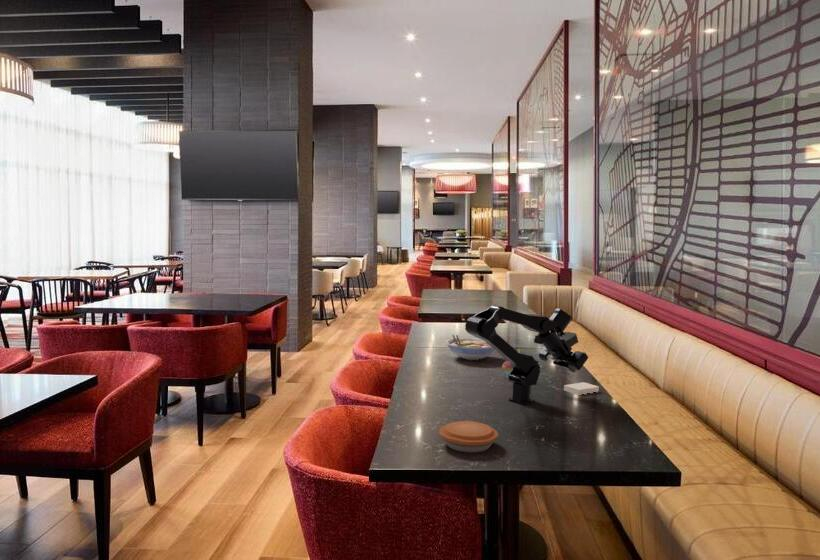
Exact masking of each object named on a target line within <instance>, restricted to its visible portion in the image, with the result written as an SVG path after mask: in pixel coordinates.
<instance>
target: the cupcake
mask: <svg viewBox="0 0 820 560" xmlns="http://www.w3.org/2000/svg"><path fill="white" fill-rule="evenodd" d="M520 348H521V347H519V348H518V349H517V352H518V353H519V352H521V350H520ZM501 367H502V369H503V370H504V372H505V375H506V378H507V379H508V380H509V378H508V374H509V373H510V371H511V370H512V366H511V363H510V362H509V361H507V360H506V361H504V362H503V363H502V365H501Z"/></svg>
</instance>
